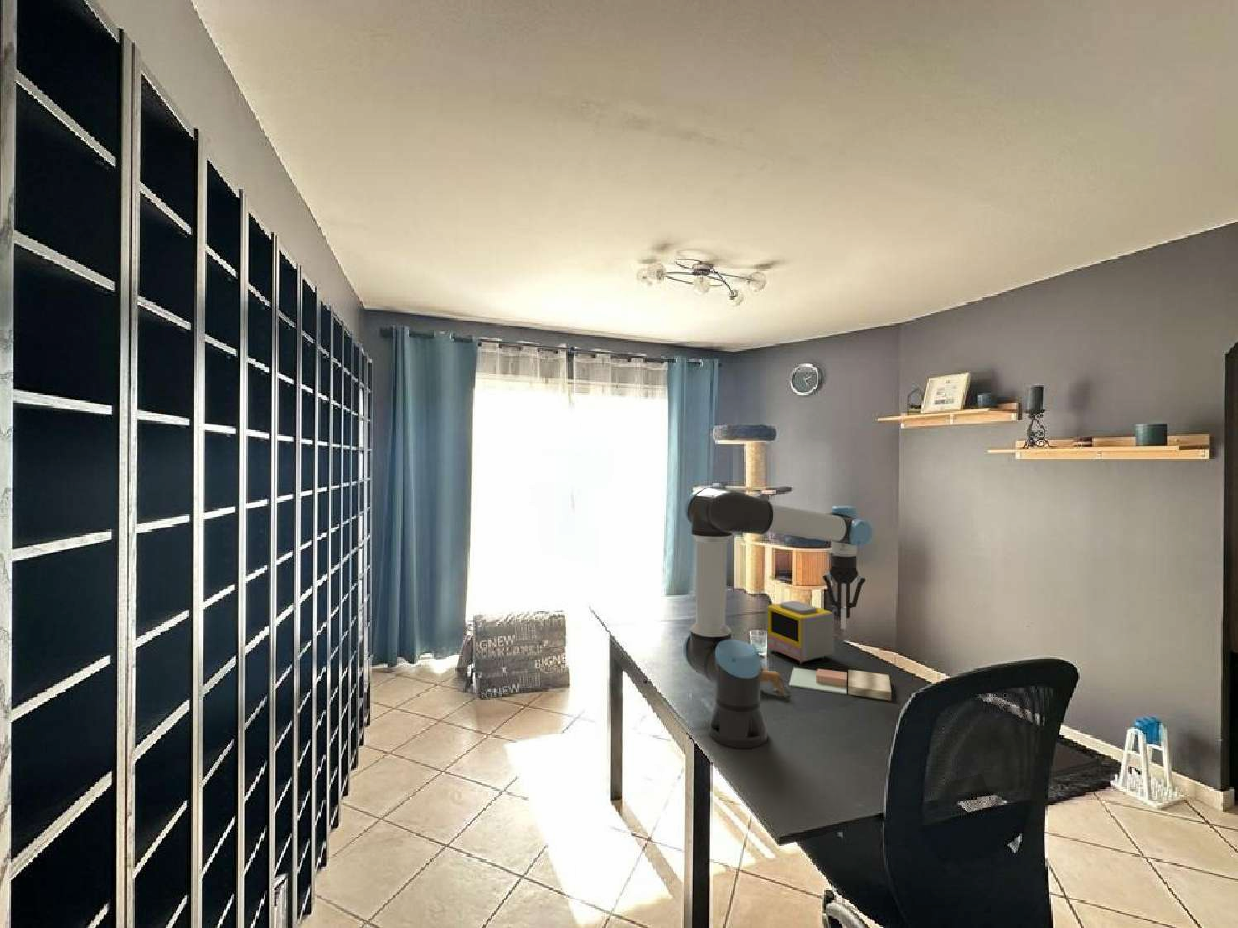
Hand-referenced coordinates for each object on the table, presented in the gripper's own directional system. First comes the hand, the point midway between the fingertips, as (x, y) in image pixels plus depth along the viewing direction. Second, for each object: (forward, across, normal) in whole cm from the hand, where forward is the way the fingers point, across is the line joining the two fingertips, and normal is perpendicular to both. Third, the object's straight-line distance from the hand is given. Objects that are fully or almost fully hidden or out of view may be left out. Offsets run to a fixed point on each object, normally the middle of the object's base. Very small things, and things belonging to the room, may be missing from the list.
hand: (843, 627), depth 180 cm
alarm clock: (+19, -16, +22) cm, 33 cm away
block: (+18, -4, 0) cm, 18 cm away
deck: (+18, +8, 0) cm, 20 cm away
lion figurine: (+19, -23, -15) cm, 33 cm away
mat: (+18, -8, 0) cm, 20 cm away
